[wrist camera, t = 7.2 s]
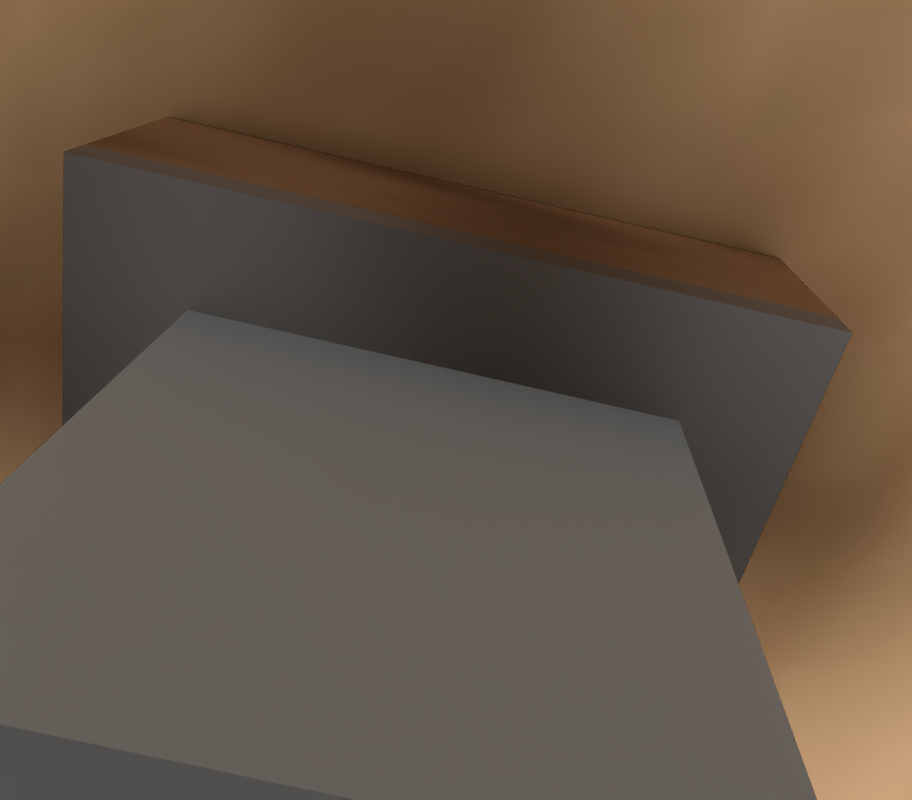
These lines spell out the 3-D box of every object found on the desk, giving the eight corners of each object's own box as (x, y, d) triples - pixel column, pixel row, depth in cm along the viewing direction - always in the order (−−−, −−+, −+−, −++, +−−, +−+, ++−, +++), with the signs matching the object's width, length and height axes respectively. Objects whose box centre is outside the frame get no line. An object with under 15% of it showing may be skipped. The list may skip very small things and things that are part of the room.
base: (139, 604, 16) (60, 729, 13) (168, 117, 12) (64, 151, 9) (603, 705, 16) (619, 847, 13) (779, 258, 12) (852, 333, 9)
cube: (160, 680, 13) (-114, 1193, 7) (188, 309, 10) (-212, 680, 5) (550, 763, 13) (569, 1328, 7) (679, 421, 10) (856, 905, 5)
